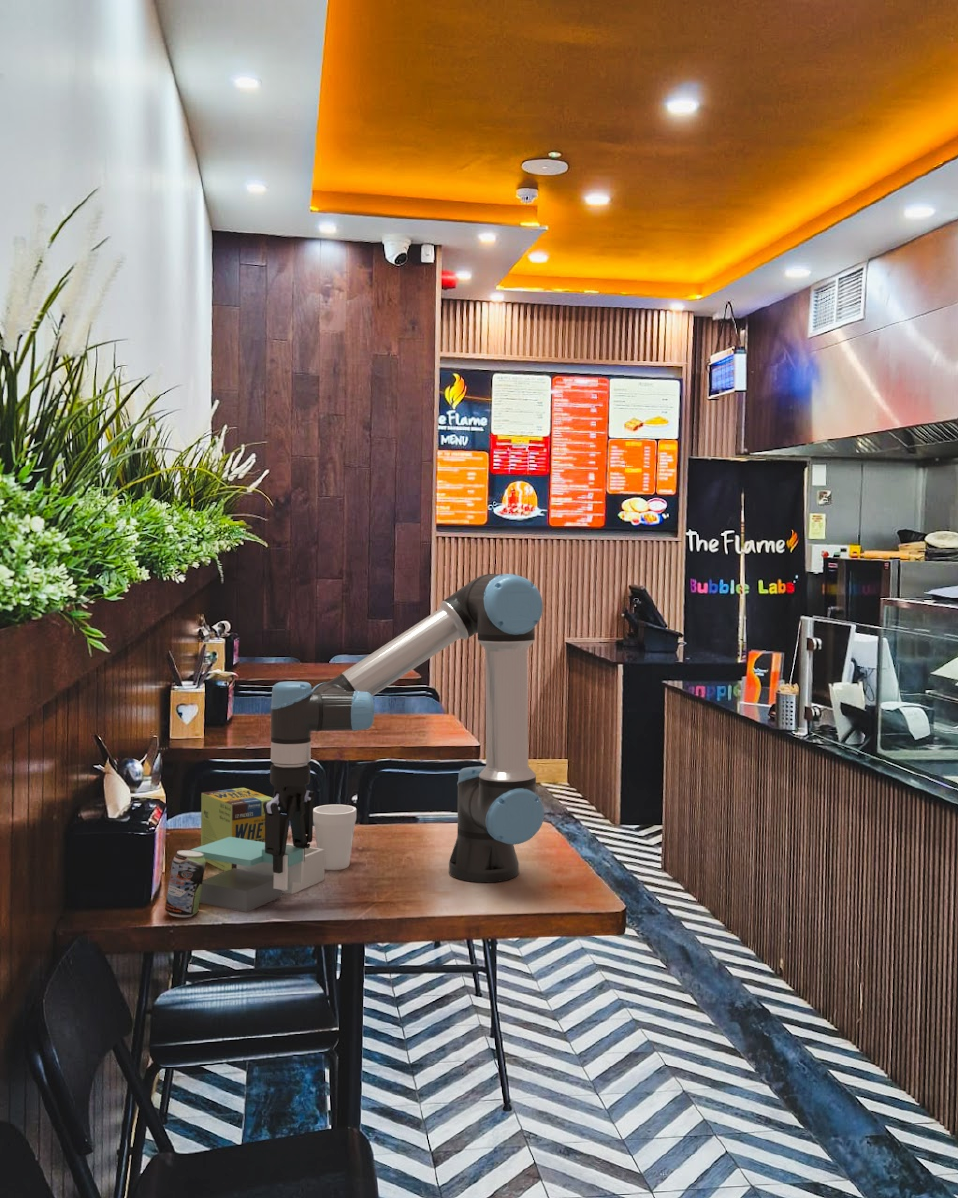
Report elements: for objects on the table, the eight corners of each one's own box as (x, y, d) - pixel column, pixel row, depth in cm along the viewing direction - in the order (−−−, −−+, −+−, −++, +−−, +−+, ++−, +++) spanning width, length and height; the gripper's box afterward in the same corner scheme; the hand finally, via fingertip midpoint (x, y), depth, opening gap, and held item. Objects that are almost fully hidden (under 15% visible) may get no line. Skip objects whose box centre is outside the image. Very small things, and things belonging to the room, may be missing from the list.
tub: (324, 882, 220) (324, 849, 220) (292, 897, 210) (292, 862, 210) (269, 873, 226) (270, 840, 226) (236, 886, 216) (236, 852, 216)
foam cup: (347, 876, 225) (347, 815, 224) (306, 873, 227) (306, 813, 226) (361, 864, 234) (361, 805, 234) (321, 861, 236) (321, 803, 236)
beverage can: (159, 915, 198) (159, 852, 198) (194, 907, 203) (194, 845, 203) (175, 923, 194) (175, 858, 193) (211, 915, 199) (211, 851, 199)
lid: (313, 859, 206) (314, 844, 205) (277, 874, 195) (277, 858, 195) (229, 845, 215) (229, 830, 215) (190, 859, 204) (190, 843, 204)
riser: (282, 899, 209) (282, 876, 209) (246, 915, 199) (246, 891, 199) (234, 890, 214) (234, 868, 214) (196, 905, 204) (197, 882, 204)
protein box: (231, 877, 223) (231, 804, 222) (199, 861, 235) (200, 792, 234) (275, 869, 229) (276, 798, 229) (243, 854, 241) (243, 786, 241)
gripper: (301, 754, 210) (299, 871, 211) (245, 768, 194) (243, 894, 195) (333, 758, 207) (331, 876, 207) (278, 773, 191) (276, 901, 192)
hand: (288, 885), depth 201 cm, fingers closed on lid, 4 cm apart
